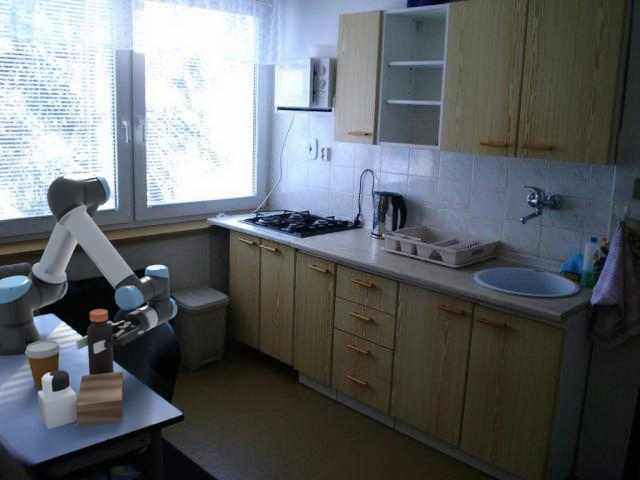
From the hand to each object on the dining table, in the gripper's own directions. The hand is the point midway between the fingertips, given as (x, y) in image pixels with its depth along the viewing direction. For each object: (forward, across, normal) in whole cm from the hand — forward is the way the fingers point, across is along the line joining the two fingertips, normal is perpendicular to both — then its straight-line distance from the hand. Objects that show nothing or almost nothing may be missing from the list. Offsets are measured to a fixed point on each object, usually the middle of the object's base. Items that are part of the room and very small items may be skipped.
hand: (85, 347), depth 177 cm
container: (+16, -5, -14) cm, 22 cm away
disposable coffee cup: (+2, +15, -14) cm, 20 cm away
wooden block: (+6, -11, -13) cm, 18 cm away
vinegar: (-5, 0, -11) cm, 12 cm away
